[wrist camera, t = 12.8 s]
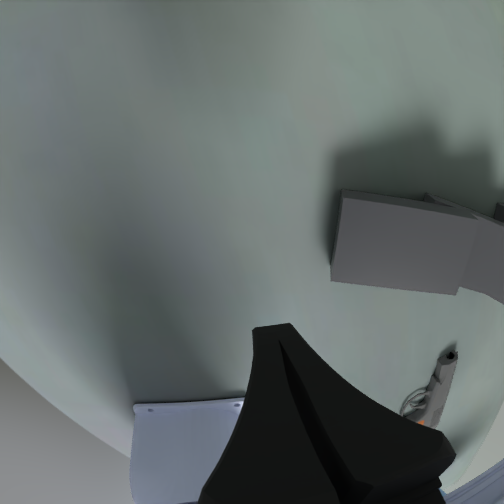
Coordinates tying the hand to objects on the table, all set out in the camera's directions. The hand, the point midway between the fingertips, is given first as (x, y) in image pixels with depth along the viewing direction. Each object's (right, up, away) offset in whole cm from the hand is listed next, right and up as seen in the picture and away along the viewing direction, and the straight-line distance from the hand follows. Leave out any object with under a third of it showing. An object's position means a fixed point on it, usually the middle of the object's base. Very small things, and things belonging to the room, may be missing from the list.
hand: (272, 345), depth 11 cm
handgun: (+16, -15, +19) cm, 29 cm away
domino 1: (+4, +4, +6) cm, 8 cm away
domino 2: (+10, +5, +7) cm, 13 cm away
